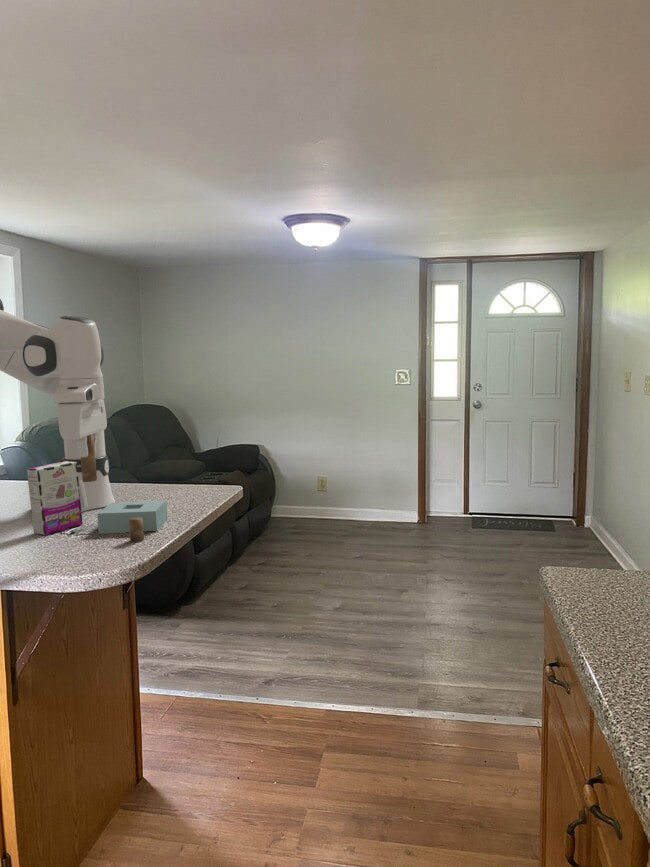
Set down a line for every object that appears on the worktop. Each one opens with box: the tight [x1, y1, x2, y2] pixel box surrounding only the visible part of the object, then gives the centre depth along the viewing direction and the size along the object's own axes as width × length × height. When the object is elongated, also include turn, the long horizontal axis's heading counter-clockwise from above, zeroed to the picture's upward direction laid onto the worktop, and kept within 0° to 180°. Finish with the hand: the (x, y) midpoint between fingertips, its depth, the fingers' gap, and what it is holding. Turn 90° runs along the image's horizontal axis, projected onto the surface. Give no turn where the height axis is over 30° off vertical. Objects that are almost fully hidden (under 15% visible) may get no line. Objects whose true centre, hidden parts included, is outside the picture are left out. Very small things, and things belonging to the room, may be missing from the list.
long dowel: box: [81, 434, 97, 482], centre depth 143 cm, size 3×3×12 cm
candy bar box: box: [26, 461, 84, 536], centre depth 163 cm, size 11×5×16 cm, turn 148°
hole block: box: [96, 499, 169, 535], centre depth 164 cm, size 14×12×5 cm
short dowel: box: [129, 517, 145, 543], centre depth 151 cm, size 3×3×5 cm
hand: (87, 455), depth 143 cm, fingers closed on long dowel, 3 cm apart
